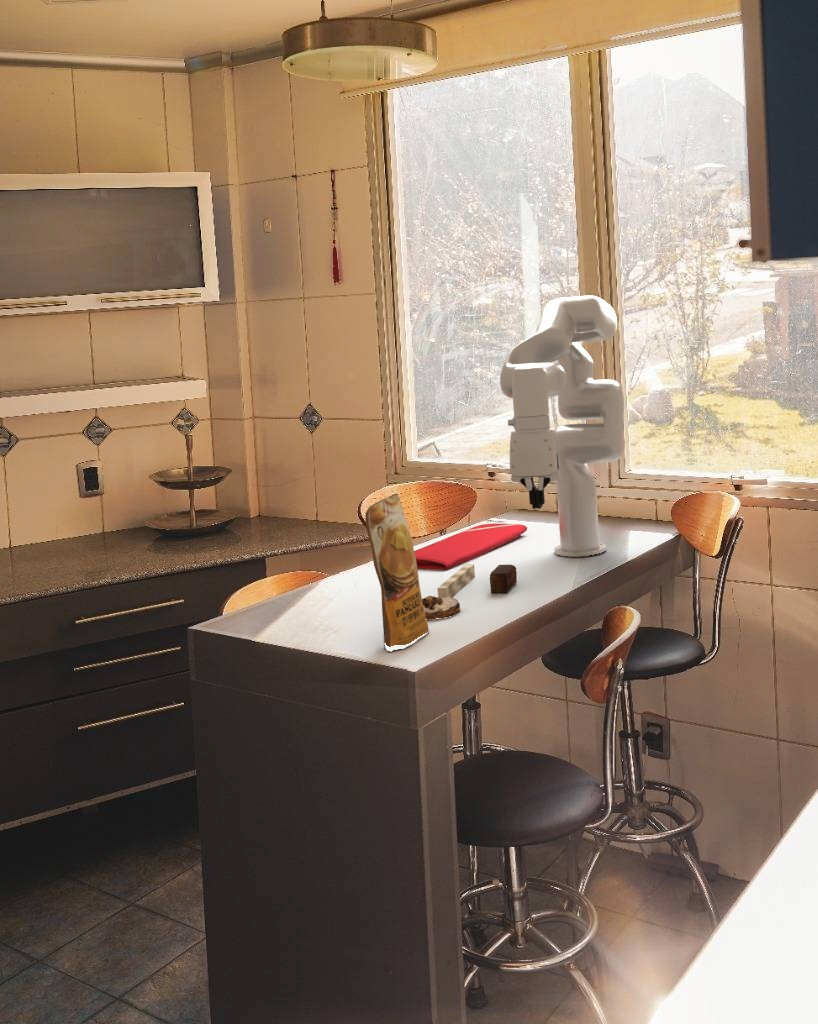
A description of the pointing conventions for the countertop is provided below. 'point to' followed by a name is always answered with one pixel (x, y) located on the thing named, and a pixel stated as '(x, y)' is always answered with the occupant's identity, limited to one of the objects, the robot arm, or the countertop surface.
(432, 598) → the cream topped tart
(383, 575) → the pancake mix bag
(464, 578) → the beige long bar
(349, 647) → the countertop surface
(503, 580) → the brick
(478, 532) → the dish drying mat
